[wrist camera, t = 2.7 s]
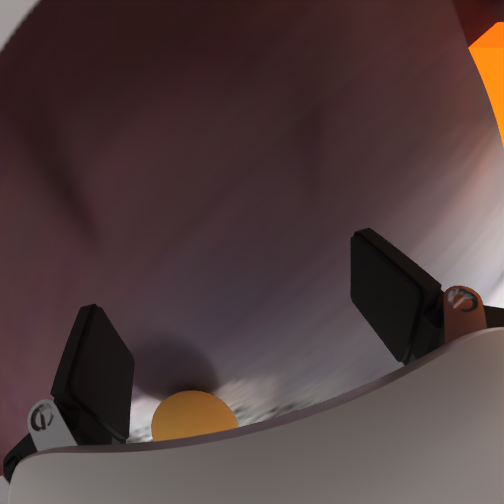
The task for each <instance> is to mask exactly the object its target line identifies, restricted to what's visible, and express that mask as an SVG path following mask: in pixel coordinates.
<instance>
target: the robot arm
mask: <svg viewBox="0 0 504 504" xmlns="http://www.w3.org/2000/svg"><path fill="white" fill-rule="evenodd" d="M350 242H351V292H350V294H351V299H352V302H353V303H354V305H355V306H356V307H357V309H358V310H359V311H360V312H361V314H362V315H363V316H364V318H365V319H366V320H367V321H368V323H369V324H370V325H371V327H372V328H373V329H374V331H375V332H376V333H377V335H378V336H379V337H380V339H381V340H382V341H383V343H384V344H385V345H386V347H387V348H388V349H389V351H390V352H391V353H392V355H393V356H394V357H395V359H396V360H397V361H398V362H403V364H404V365H405V366H404V367H402V368H400V369H398V370H396V371H394V372H391V373H389V374H387V375H385V376H383V377H381V378H379V379H377V380H375V381H373V382H370V383H368V384H366V385H364V386H361V387H359V388H357V389H354V390H352V391H350V392H347V393H345V394H342V395H340V396H337V397H335V398H332V399H330V400H327V401H324V402H321V403H319V404H316V405H313V406H310V407H307V408H304V409H301V410H298V411H295V412H292V413H289V414H286V415H283V416H279V417H276V418H272V419H269V420H265V421H262V422H258V423H254V424H250V425H246V426H242V427H238V428H233V429H229V430H224V431H219V432H214V433H209V434H204V435H198V436H192V437H186V438H179V439H171V440H163V441H154V442H144V443H130V444H126V439H127V438H128V437H129V427H130V409H131V395H132V384H133V373H134V358H133V356H132V354H131V353H130V351H129V350H128V348H127V347H126V345H125V344H124V342H123V341H122V339H121V338H120V336H119V335H118V333H117V332H116V330H115V328H114V327H113V325H112V324H111V322H110V320H109V319H108V317H107V315H106V314H105V312H104V310H103V309H102V308H101V307H98V306H97V305H96V304H91V305H88V306H84V307H81V308H80V310H79V313H78V315H77V317H76V320H75V322H74V325H73V328H72V330H71V333H70V335H69V338H68V341H67V343H66V346H65V349H64V352H63V355H62V358H61V361H60V364H59V367H58V370H57V373H56V376H55V379H54V383H53V386H52V389H51V393H50V394H51V395H52V396H53V397H54V402H53V401H51V400H42V401H40V402H38V403H37V404H36V405H35V406H34V407H33V408H32V409H31V411H30V413H29V416H28V428H29V431H30V433H29V434H27V435H26V436H25V437H24V438H23V439H22V440H21V441H20V442H19V443H18V444H17V445H16V446H15V447H14V448H13V449H12V450H11V451H10V452H9V453H8V454H7V455H6V457H5V458H4V462H3V472H4V475H5V477H4V476H1V478H0V504H504V308H498V307H491V306H485V305H483V302H482V300H481V297H480V296H479V295H478V293H477V292H475V291H474V290H473V289H471V288H468V287H465V286H453V287H450V288H448V289H447V290H446V291H445V293H444V292H443V291H442V290H441V286H442V285H441V284H440V283H439V282H438V281H436V280H435V279H434V278H433V277H432V276H431V275H429V274H428V273H427V272H426V271H425V270H423V269H422V268H421V267H420V266H418V265H417V264H416V263H415V262H414V261H412V260H411V259H410V258H409V257H407V256H406V255H405V254H404V253H402V252H401V251H400V250H398V249H397V248H396V247H395V246H393V245H392V244H391V243H389V242H388V241H387V240H386V239H384V238H383V237H382V236H380V235H379V234H378V233H376V232H375V231H374V230H372V229H371V228H366V229H363V230H359V231H356V232H355V233H354V236H353V237H351V241H350Z"/></svg>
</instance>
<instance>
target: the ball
mask: <svg viewBox="0 0 504 504" xmlns="http://www.w3.org/2000/svg"><path fill="white" fill-rule="evenodd" d="M233 428H238V424H237V420H236V418H235V416H234V414H233V412H232V411H231V409H230V408H229V407H228V406H227V405H226V404H225V403H224V402H223V401H222V400H220V399H219V398H217V397H215V396H214V395H211V394H209V393H206V392H202V391H194V390H192V391H182V392H179V393H176V394H173V395H171V396H169V397H168V398H166V399H165V400H164V401H163V402H162V403H161V404H160V405H159V406H158V408H157V409H156V411H155V413H154V415H153V419H152V424H151V431H152V437H153V440H154V441H163V440H171V439H179V438H186V437H192V436H198V435H204V434H209V433H214V432H219V431H224V430H229V429H233Z"/></svg>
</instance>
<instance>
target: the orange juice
mask: <svg viewBox="0 0 504 504" xmlns="http://www.w3.org/2000/svg"><path fill="white" fill-rule="evenodd" d="M469 50H470V53H471V55H472V57H473V59H474V61H475V63H476V65H477V68H478V70H479V72H480V75H481V77H482V80H483V82H484V85H485V87H486V90H487V93H488V95H489V98H490V101H491V104H492V107H493V110H494V113H495V116H496V120H497V123H498V127H499V130H500V134H501V138H502V142H503V146H504V22H497V23H496V24H495V25H494V26H493V27H491V28H490V29H489V30H488V31H487V32H486V33H485V34H483V35H482V36H481V37H480V38H479V39H478V40H477V41H475V42H474V43H473V44H472V45H471V46H470V47H469Z"/></svg>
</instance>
